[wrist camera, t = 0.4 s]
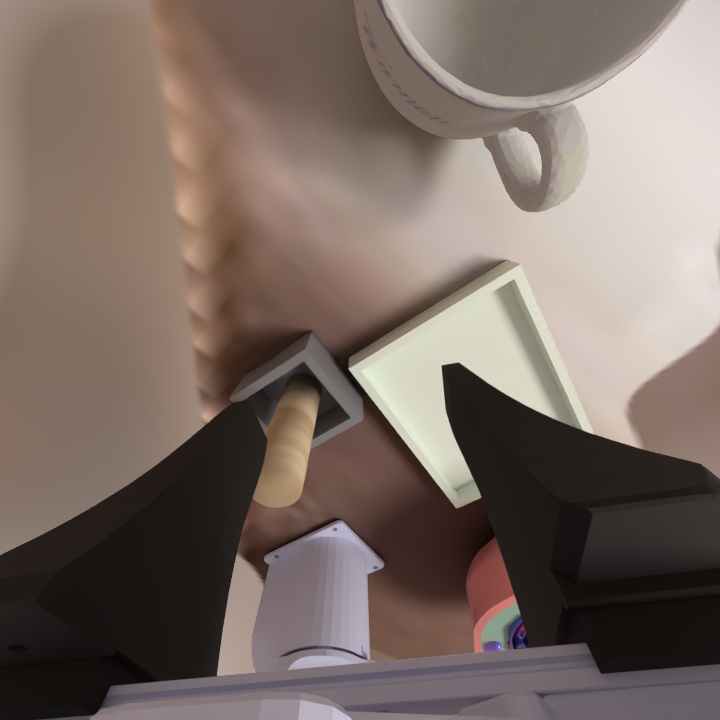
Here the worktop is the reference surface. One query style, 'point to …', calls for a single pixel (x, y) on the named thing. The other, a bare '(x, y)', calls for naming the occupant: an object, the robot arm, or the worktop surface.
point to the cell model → (493, 603)
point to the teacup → (508, 74)
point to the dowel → (289, 443)
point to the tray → (477, 353)
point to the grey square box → (313, 358)
